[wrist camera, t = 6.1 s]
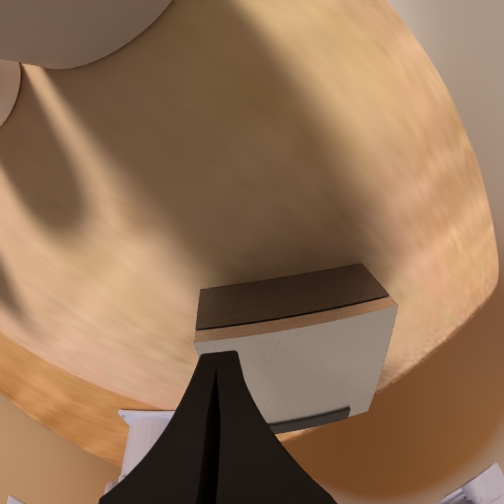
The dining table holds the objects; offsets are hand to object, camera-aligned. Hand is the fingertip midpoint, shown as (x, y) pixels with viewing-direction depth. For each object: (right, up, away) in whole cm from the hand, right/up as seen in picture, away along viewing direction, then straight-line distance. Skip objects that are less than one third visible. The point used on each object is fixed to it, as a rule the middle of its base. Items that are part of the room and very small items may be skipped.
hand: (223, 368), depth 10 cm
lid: (+4, -5, +8) cm, 10 cm away
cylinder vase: (-9, +22, 0) cm, 24 cm away
